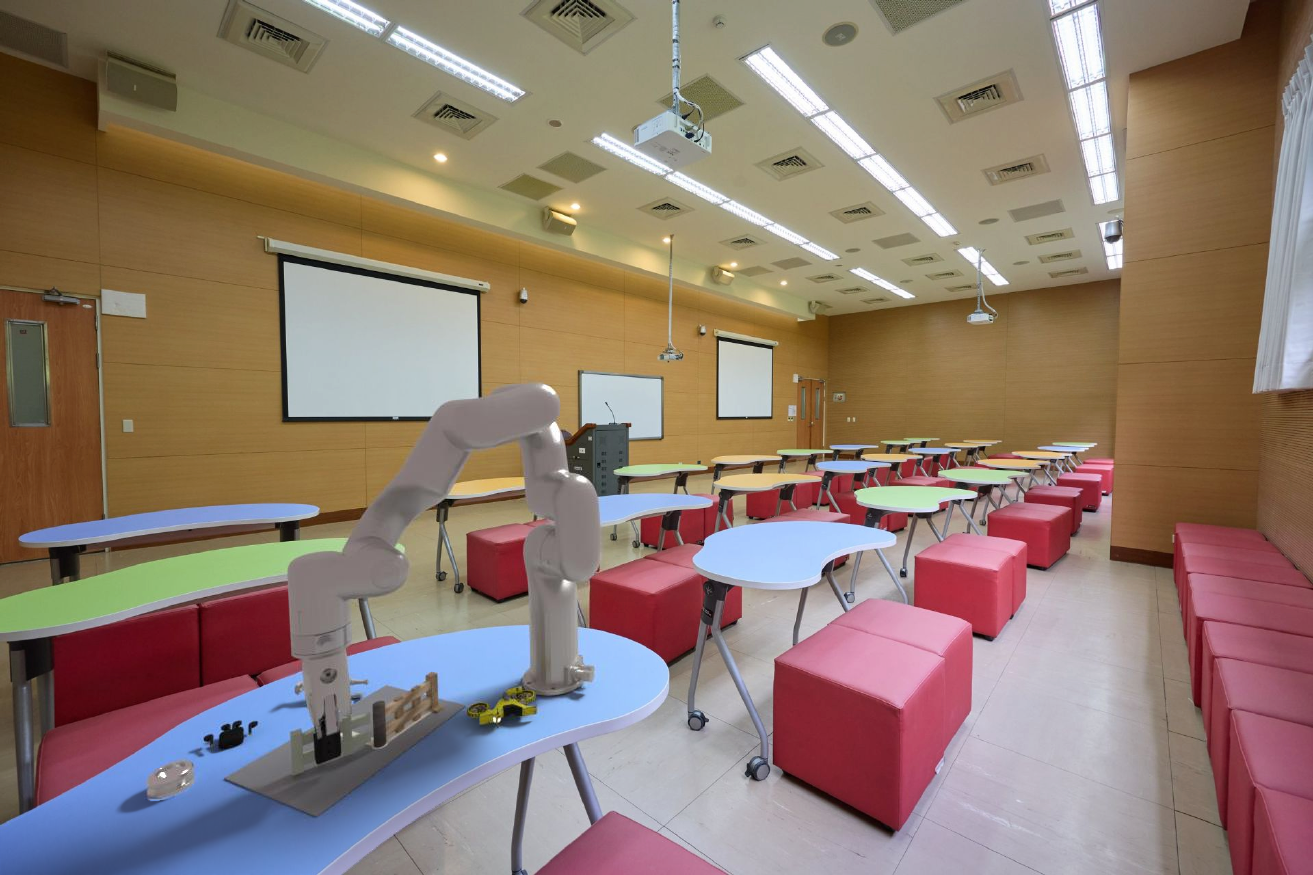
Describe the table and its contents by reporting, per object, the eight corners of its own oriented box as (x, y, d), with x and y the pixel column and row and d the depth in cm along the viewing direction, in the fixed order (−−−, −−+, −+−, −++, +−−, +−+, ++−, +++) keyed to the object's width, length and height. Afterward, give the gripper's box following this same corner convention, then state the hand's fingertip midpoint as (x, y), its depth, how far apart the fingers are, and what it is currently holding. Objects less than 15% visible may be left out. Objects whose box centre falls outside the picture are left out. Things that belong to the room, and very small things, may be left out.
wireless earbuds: (202, 751, 82) (203, 726, 85) (203, 763, 82) (204, 738, 86) (258, 733, 86) (257, 711, 90) (258, 745, 87) (258, 722, 90)
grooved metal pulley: (151, 786, 75) (143, 807, 71) (149, 767, 75) (142, 786, 71) (196, 772, 78) (192, 791, 74) (195, 753, 78) (191, 771, 74)
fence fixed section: (384, 751, 83) (382, 709, 82) (366, 746, 84) (364, 704, 84) (444, 709, 94) (443, 671, 94) (427, 705, 96) (426, 668, 95)
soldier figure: (355, 713, 95) (282, 703, 92) (355, 720, 99) (285, 710, 95) (372, 669, 101) (304, 658, 97) (371, 677, 104) (305, 667, 101)
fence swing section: (370, 743, 84) (368, 707, 84) (371, 747, 83) (370, 710, 82) (291, 770, 78) (290, 731, 77) (292, 775, 76) (290, 736, 76)
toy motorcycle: (531, 679, 97) (543, 697, 91) (532, 698, 98) (543, 718, 92) (464, 696, 92) (471, 717, 85) (465, 717, 92) (472, 740, 86)
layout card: (466, 706, 95) (466, 704, 95) (316, 817, 69) (316, 814, 69) (386, 686, 103) (386, 684, 103) (224, 778, 77) (224, 777, 77)
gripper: (361, 646, 73) (367, 772, 74) (342, 615, 84) (347, 724, 85) (297, 664, 68) (304, 798, 69) (285, 628, 80) (292, 744, 81)
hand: (328, 757), depth 77 cm, fingers closed
